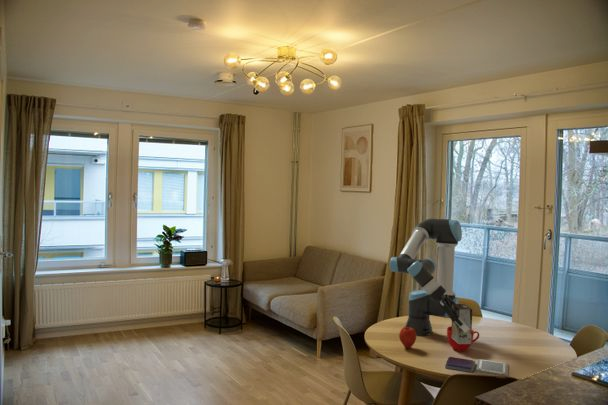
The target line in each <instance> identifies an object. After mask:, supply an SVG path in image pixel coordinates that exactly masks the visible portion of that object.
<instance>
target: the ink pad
mask: <svg viewBox="0 0 608 405" xmlns="http://www.w3.org/2000/svg"><path fill="white" fill-rule="evenodd" d="M475 365H476V361H475V360H473V359H467V358H459V357H454V356H448V358H447V361H446V362H445V369H450V370H455V371H462V372H466V373H474V370H475Z"/></svg>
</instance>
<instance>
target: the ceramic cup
mask: <svg viewBox="0 0 608 405" xmlns="http://www.w3.org/2000/svg"><path fill="white" fill-rule="evenodd" d="M451 329H452V325H451V326H448V327H447V328H446V336H447V342H448V343H449V345H450V346H451V348H452V349H453V350H454V351H457V352H466V351H467V350H468V349H469V348H470V347H471V345H472V343H474V342H476V341H478V340H479V338H480V332H479V331H476V330H475V331H474V330H473V329H472V336H471V344H458V343H457V342H456V341H454V340H453V339H452V338H451ZM475 334H477V335H476V337H475V338H474V336H475Z"/></svg>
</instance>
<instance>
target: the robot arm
mask: <svg viewBox="0 0 608 405" xmlns="http://www.w3.org/2000/svg"><path fill="white" fill-rule="evenodd" d="M462 232H463V231H462V226H461V223H460V222H459V221H458V220H456V219H445V218H427V219H424V220H422V221H420V222H419V223H417V224H416V225H415V226H414V227H413V229H412V232H411V236H410V237H409V239H408V241H407V243H406V244H405V245H404V247H403V249H402V250H401V252H400V254H399V255H398V256H392V257H391V258H390V260H389V269H390V271H391V272H393V273H398V274H407V275H410V277H412V278H413V280H414V281H415V282H417V283H416V284H418V285H419V286H420V287H421V288H422V290H421V289H419V290H413V291H411V292H410V293H409V294H408V295H409V296H408V317H407V321H406V323H405V325H404V327H410V328H413V329H414V330H415V332H416V336H430V335H432V334H433V326H432V323H431V318H430V316H432V317H439V318H444V319H450V320H451V323H452V322H454V321H455V322H456V323H457V325H458V326H459V327H460V328H461V329H462V330H463V331H464V332H467V331H468V330H469V329H470V328H469V327H468V326H467V325H466V324H465V323H464V322H463V321H462V320H461V319H460V317H459V318H458V316H457V315H456V313H455V312H454V310H453V309H452V304H460V303H459V298H458V297H456V292H454V290H453V289H454V268H455V252H456V250H455V249H456V247H457V246H458V245H459V242H461V241H462V237H463V236H462V235H463V233H462ZM428 240H435V244H436V245H437V247H438V249H437V250H438V252H437V254H438V256H437V263H436V261H435V260H434V259H432V258H425V259H415V258H416V257H417V255H418V254H419V251H420V250H421V248H422V246H423V244H424V243H426V242H427V241H428ZM435 270H437V274H436V278H435V277H434V276H433V275H432V274H434V273H435ZM429 334H430V335H429Z"/></svg>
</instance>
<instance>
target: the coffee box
mask: <svg viewBox="0 0 608 405" xmlns="http://www.w3.org/2000/svg"><path fill="white" fill-rule="evenodd" d="M452 309H453V310H454V312H455V313H456V315H457V316H458V318H459V317H460V319H461V320H462V321H463V322H464V323H465V324H466V325H467V326H468V327H469V328H470V329H469V330H468V331H467V332H464V331H463V330H462V329H461V328H460V327H459V326H458V325H457V323H456V322H455V321H454V322H452V321H451V326H452V329H451V338H452V339H453V340H454V341H456V342H457V343H458V344H471V336H472V330H473V328H472V326H473V309H472V308H471V307H470V306H468V305H466V304H465V303H458V304H452ZM471 345H472V344H471Z"/></svg>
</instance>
